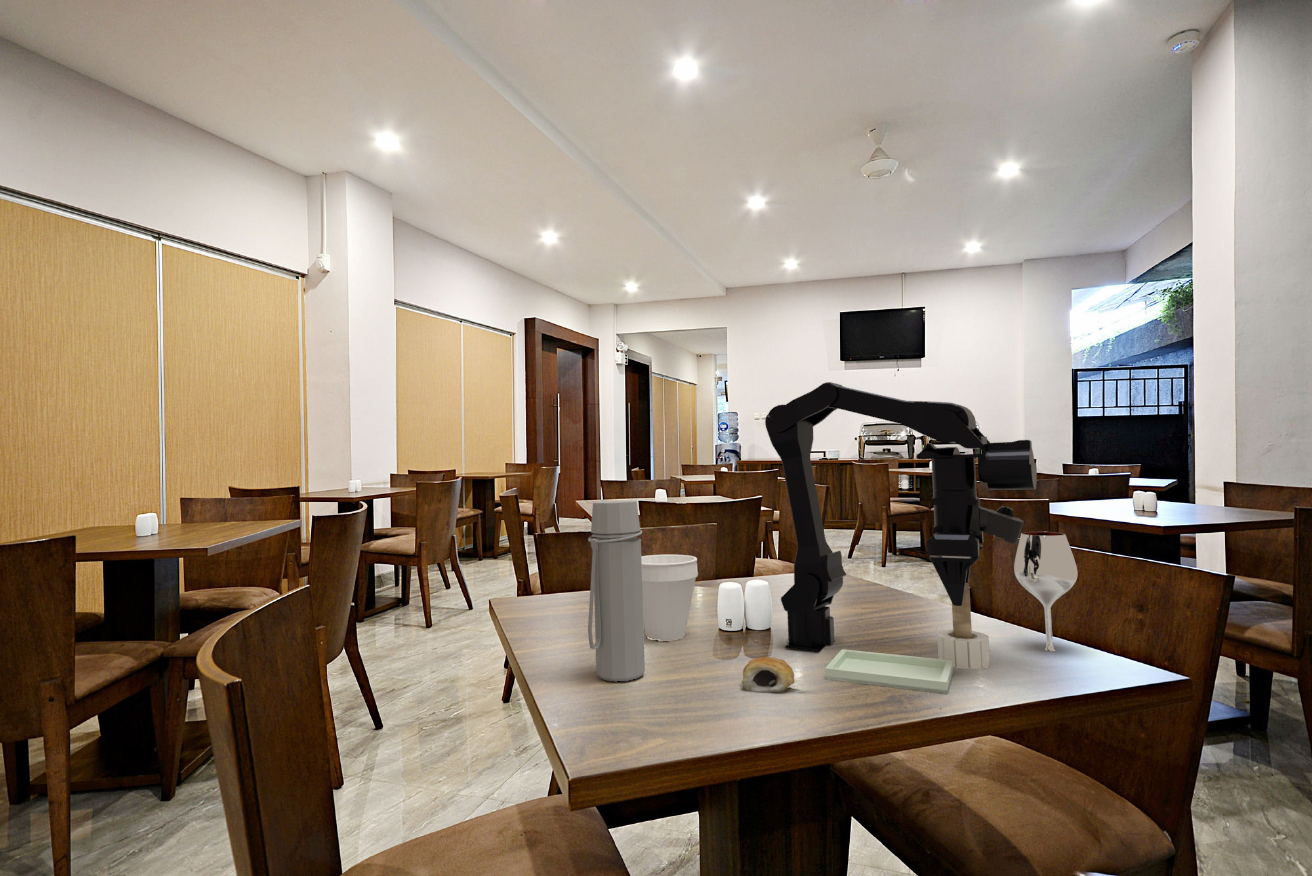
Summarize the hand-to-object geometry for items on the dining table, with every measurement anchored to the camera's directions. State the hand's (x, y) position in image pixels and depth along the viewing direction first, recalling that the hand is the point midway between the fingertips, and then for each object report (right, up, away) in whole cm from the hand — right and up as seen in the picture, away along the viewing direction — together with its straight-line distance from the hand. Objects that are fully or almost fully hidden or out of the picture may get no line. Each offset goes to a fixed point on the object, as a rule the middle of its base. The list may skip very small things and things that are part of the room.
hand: (959, 599), depth 94 cm
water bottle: (-49, -11, 0) cm, 50 cm away
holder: (0, -10, -1) cm, 10 cm away
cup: (-42, -12, +22) cm, 49 cm away
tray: (-12, -10, -5) cm, 16 cm away
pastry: (-28, -11, -5) cm, 31 cm away
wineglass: (+15, -10, +4) cm, 18 cm away
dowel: (0, -9, -1) cm, 9 cm away
